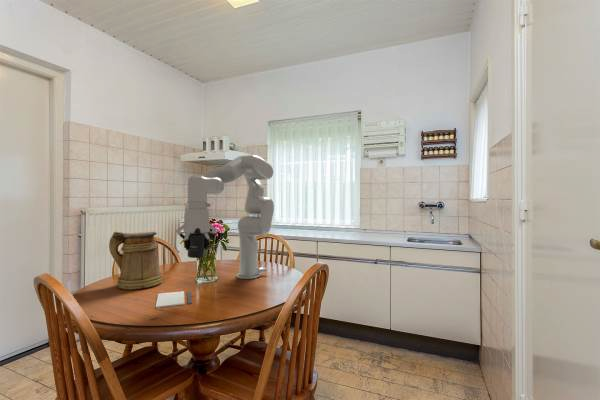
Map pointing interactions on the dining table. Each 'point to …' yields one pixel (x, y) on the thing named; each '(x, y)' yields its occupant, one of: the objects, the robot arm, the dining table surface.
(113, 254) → the tankard
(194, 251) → the supplement bottle
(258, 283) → the dining table surface
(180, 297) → the white tile with strip
